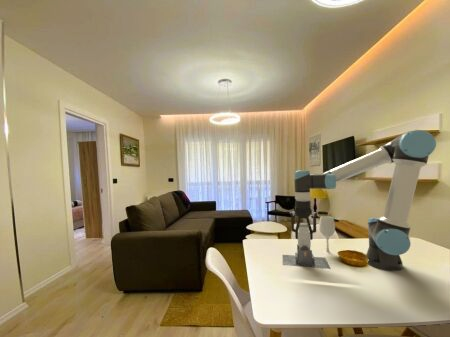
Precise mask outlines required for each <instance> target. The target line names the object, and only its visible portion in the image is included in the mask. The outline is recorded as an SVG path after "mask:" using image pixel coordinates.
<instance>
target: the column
mask: <svg viewBox="0 0 450 337" xmlns="http://www.w3.org/2000/svg"><path fill="white" fill-rule="evenodd" d="M298 232H299V237H300V246H299V249H302V246H303V247H308V250H309V232H310V231H309V225H308V224H307V222H300V224H299V229H298Z"/></svg>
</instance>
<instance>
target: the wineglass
mask: <svg viewBox="0 0 450 337" xmlns="http://www.w3.org/2000/svg"><path fill="white" fill-rule="evenodd" d="M318 225H319V226H318V227H319V232H320V233H321V234H322V236H324V237H325V239H326V241H325V242H326V250H324V251H323V253H325V254H333V252H332V251H330V247H329V246H330V244H329V238H331V237H332V236H333V235H334V234H335V231H336V224H335V219H334V216H328V215H321V216H320V218H319V223H318Z"/></svg>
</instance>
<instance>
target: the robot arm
mask: <svg viewBox="0 0 450 337" xmlns="http://www.w3.org/2000/svg"><path fill="white" fill-rule="evenodd" d="M436 147H437V141H436V138H435V137H434V135H433V134H432V133H431V132H429V131H425V130H423V129H414V130H408V131H406V132H404V133H403V134H401V135H399V136H396V137H395V138H394V139H393V140H391V141H389V142H387V143H385V144H382V145H380V146H379V148H378V149H376V150H375V151H371V152H370V153H367V154H365V155H362V156H360V157H357V158H355V159H353V160H350V161H348V162H346V163H344V164H341V165H339V166H336V167H334V168H332V169H330V170H327V171H325V172H322V173H310V170H308V169H307V170H296V171H295V172H294V178H293V179H294V199H295V201H294V202H295V204H294V207H295V208H294V210H293V211H290V212H289V215H290V222H291V224H290V225H291V226H290V228H291V232H293V233H295V240H297V244H298V246H300V237H299V224H300V223H301V221H302V220H301V219H305V220H306V223H307V224H308V225H309V247H310V248H311V247H312V245H311V244H312V243H311V241H312V240H313V237H314V236H313V235H314V233H317V217H318V213H317V212H315V211H312V209H311V208H312V206H311V201H310V200H311V190H313V189H314V190H317V189H318V190H334V189H336V187H337V183H339V182H342V181H345V180H347V179H349V178H351V177H352V178H353V177H354V176H357V175H359V174H362V173H365V172H366V171H370V170H372V169H374V168H377V167H379V166H382V165H385V164H389V165H391V164H393V163H394V164H395V165H394V169H393V173H392V178H391V181H390V186H389V191H388V194H387V197H386V203H385V206H384V211H383V214H382V215H381V216H380V217H369V218H368V220H367V228H368V248H367V252H366V254H365V257H366V258H368V259H369V261H368V263H367V264H368V265H370V266H372V267H374V268H377V269H381V270H384V271H385V270H387V271H401V270H402V269H404V265H403V264H404V263H403V260H402V258H401V255H403V254H405V253H407V252H408V251H409V250H410V248H411V240H410V239H411V238H410V237H409V235H410V231H411V226H410V224H409V223H408V219H409V215H410V212H411V208H412V204H413V200H414V195H415V192H416V187H417V184H418V181H419V176H420V172H421V169H422V168H423V167H425V166H427V164H428V160H429V156H430V155H431V154H432V153H433V152H434V151H435V149H436ZM295 215H296V216H297V221H296V226H295V219H294V218H295V217H294V216H295ZM311 215H312V225H311V221H310V218H309V217H310V216H311ZM366 258H365V259H366Z"/></svg>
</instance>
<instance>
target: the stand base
mask: <svg viewBox="0 0 450 337" xmlns="http://www.w3.org/2000/svg"><path fill="white" fill-rule="evenodd" d="M296 246H297V248H296V249H297V250H296V252H295V253H294V255H292V254H282V266H288V267H289V266H290V267H303V268H314V269H328V270H331V267H330V265H329V263H328V261H327V258H326V257H322V256H321V257H319V256H314V254H313V250H312V249H311V247H309V250H308V247H303V246H302V249H299V246H298V243H297V245H296Z"/></svg>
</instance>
